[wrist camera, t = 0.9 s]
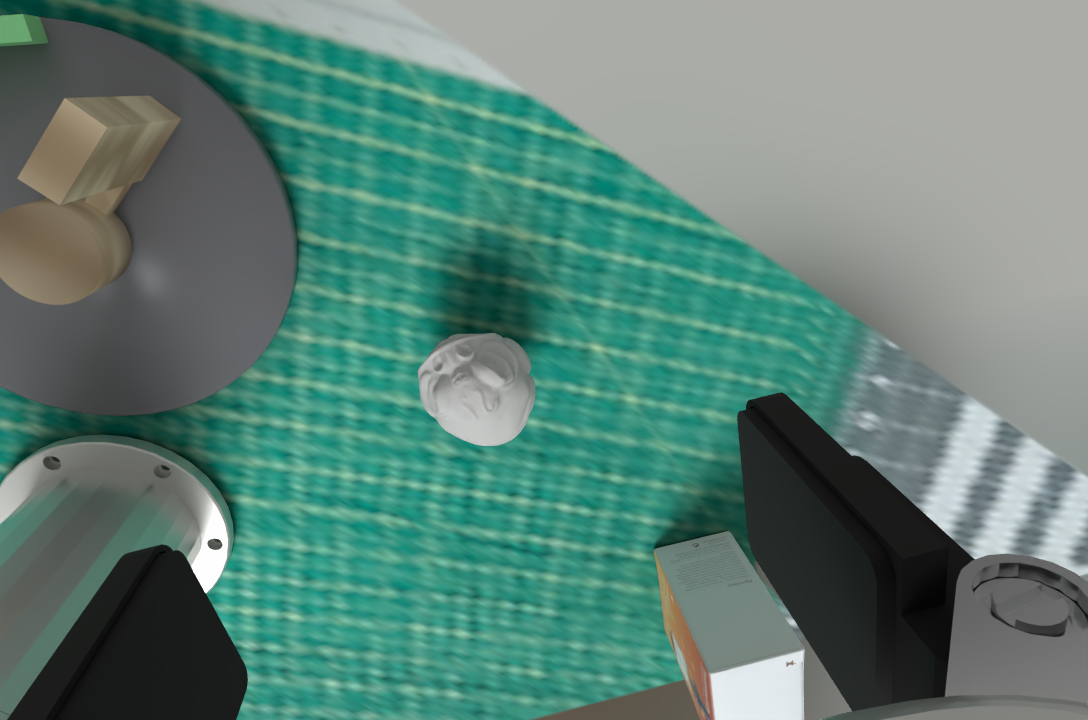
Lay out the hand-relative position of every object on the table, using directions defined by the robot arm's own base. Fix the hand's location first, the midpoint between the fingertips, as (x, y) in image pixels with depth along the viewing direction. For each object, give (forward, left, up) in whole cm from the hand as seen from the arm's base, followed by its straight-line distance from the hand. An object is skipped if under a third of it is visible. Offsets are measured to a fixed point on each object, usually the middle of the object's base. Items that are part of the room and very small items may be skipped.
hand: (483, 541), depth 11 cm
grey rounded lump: (-5, -5, -26) cm, 27 cm away
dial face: (-11, +14, -26) cm, 32 cm away
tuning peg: (-9, +14, -24) cm, 29 cm away
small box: (-9, -28, -26) cm, 40 cm away
